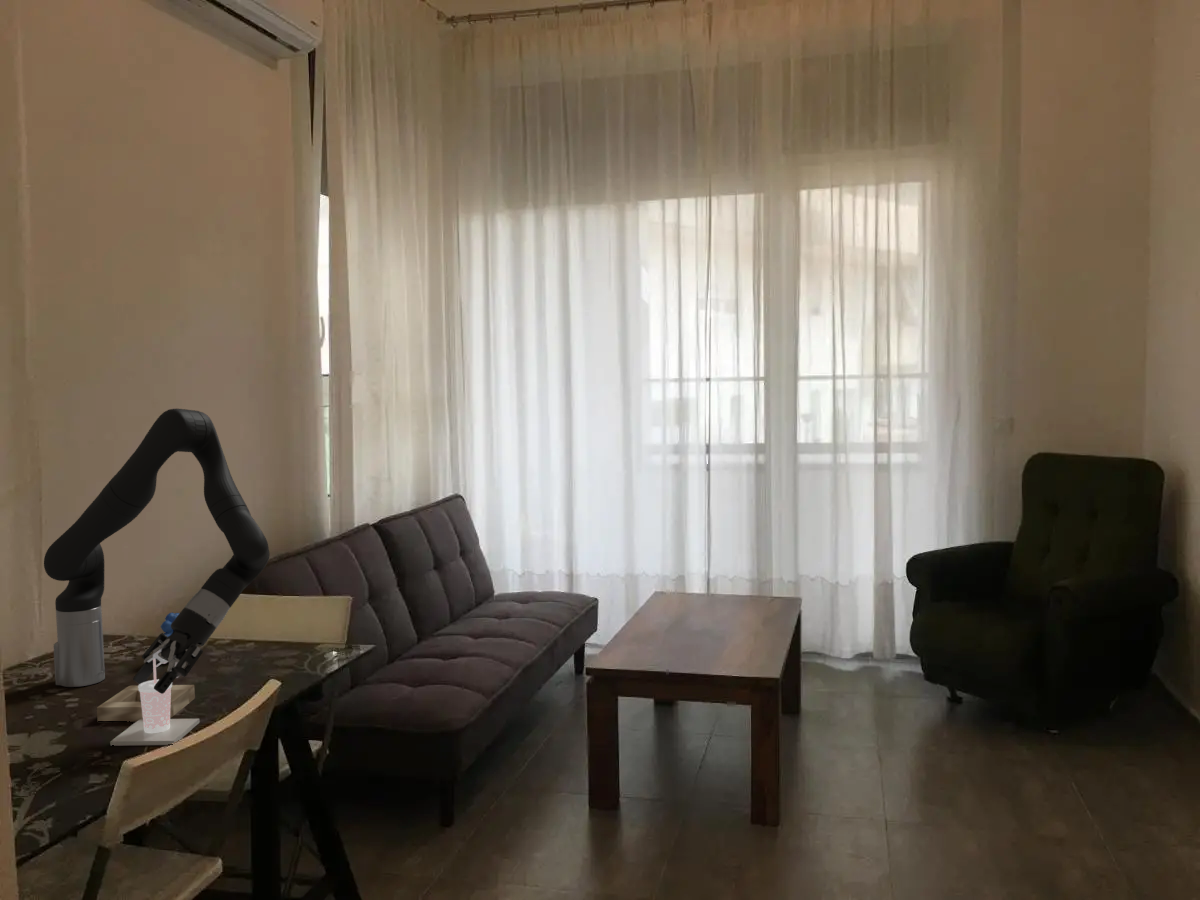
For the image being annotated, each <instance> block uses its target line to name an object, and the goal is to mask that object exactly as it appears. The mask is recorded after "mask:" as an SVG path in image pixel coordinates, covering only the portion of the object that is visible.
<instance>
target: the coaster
mask: <svg viewBox="0 0 1200 900" xmlns="http://www.w3.org/2000/svg"><path fill="white" fill-rule="evenodd" d="M200 721H201V720H200V718H170V728H169V729H168V730H166V731H163V732H158V733H147V732H145V731H144V725H143V719H139V720H138V721H137V722H133V724H131V725H130V726H128V728H126V729H124V731H123V732H120V733H119V734H118V735H117V736H115V738H113V739H112V740H111V741H110V742H109V743H110V746H112V745H114V746H115V747H116V746H120V747H121V746H169V745H168V744H171V743H174V742H176V741H178V740H179V741H181V739H183V738H184V737H185V736H187V734H188V733H189V732H191V730H193V729H194V728H195V727H196V726H197V725H199V723H200ZM179 741H178V742H179Z"/></svg>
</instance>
